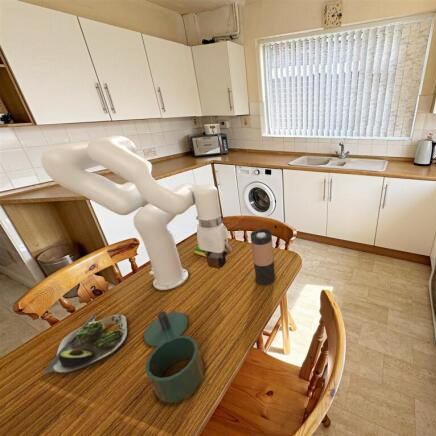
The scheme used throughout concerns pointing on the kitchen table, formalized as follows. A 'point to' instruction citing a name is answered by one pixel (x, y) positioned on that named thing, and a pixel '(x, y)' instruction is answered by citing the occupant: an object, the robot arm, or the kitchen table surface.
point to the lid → (165, 328)
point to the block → (213, 260)
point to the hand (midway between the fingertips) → (216, 263)
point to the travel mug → (263, 255)
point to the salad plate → (89, 345)
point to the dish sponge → (200, 251)
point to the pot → (182, 381)
